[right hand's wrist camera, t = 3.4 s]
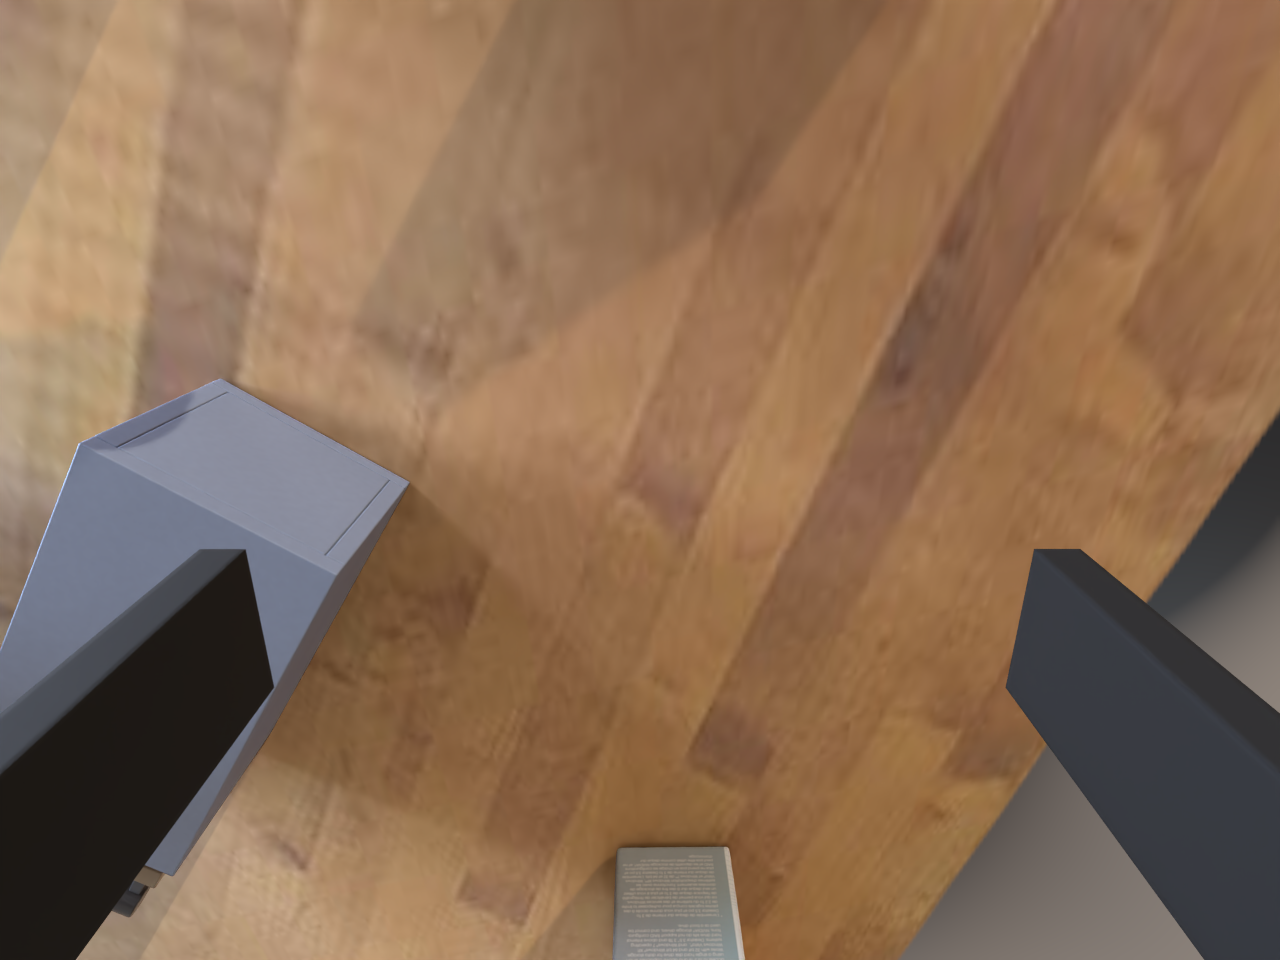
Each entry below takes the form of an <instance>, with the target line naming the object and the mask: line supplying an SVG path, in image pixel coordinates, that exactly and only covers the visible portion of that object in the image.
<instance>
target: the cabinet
mask: <svg viewBox="0 0 1280 960" xmlns="http://www.w3.org/2000/svg"><path fill="white" fill-rule="evenodd" d="M409 483H410V482H408V481H407V480H405V479H403V478H401V477H399V476H397V475H396V474H394V473H392V472H390V471H388V470H387V469H385V468H383V467H381V466H379V465H377V464H376V463H374V462H372V461H370V460H368V459H366V458H365V457H363V456H361V455H359V454H357V453H356V452H354V451H352V450H350V449H348V448H346V447H345V446H343V445H341V444H339V443H337V442H335V441H334V440H332V439H330V438H328V437H326V436H325V435H323V434H321V433H319V432H317V431H315V430H314V429H312V428H310V427H308V426H306V425H304V424H303V423H301V422H299V421H297V420H295V419H294V418H292V417H290V416H288V415H286V414H284V413H283V412H281V411H279V410H277V409H275V408H273V407H272V406H270V405H268V404H266V403H264V402H262V401H261V400H259V399H257V398H255V397H253V396H252V395H250V394H248V393H246V392H244V391H242V390H241V389H239V388H237V387H235V386H233V385H231V384H230V383H228V382H226V381H224V380H222V379H218V380H216V381H214V382H212V383H209V384H207V385H205V386H203V387H201V388H198V389H196V390H194V391H192V392H190V393H187V394H185V395H183V396H181V397H179V398H176V399H174V400H172V401H170V402H168V403H165V404H163V405H161V406H159V407H157V408H155V409H152V410H150V411H148V412H146V413H144V414H141V415H139V416H137V417H135V418H133V419H130V420H128V421H126V422H124V423H122V424H120V425H117V426H115V427H113V428H111V429H109V430H106V431H104V432H102V433H100V434H98V435H96V436H95V437H91V438H89V439H87V440H85V441H83V442H81V443H79V445H78V448H77V450H76V453H75V455H74V458H73V461H72V463H71V466H70V468H69V471H68V474H67V476H66V479H65V482H64V484H63V487H62V489H61V492H60V495H59V497H58V500H57V503H56V505H55V508H54V510H53V513H52V516H51V518H50V521H49V524H48V526H47V529H46V531H45V534H44V537H43V539H42V542H41V544H40V547H39V550H38V552H37V555H36V558H35V560H34V563H33V565H32V568H31V571H30V573H29V576H28V579H27V581H26V584H25V586H24V589H23V592H22V594H21V597H20V599H19V602H18V605H17V607H16V610H15V613H14V615H13V618H12V620H11V623H10V626H9V628H8V631H7V634H6V636H5V639H4V641H3V644H2V647H1V649H0V713H1V712H3V711H4V710H5V709H6V708H8V707H9V706H10V705H11V704H12V703H14V702H15V701H16V700H17V699H18V698H20V697H21V696H22V695H23V694H25V693H26V692H27V691H28V690H29V689H31V688H32V687H33V686H34V685H35V684H37V683H38V682H39V681H40V680H42V679H43V678H44V677H45V676H46V675H48V674H49V673H50V672H51V671H52V670H54V669H55V668H56V667H57V666H59V665H60V664H61V663H62V662H63V661H65V660H66V659H67V658H68V657H69V656H71V655H72V654H73V653H74V652H75V651H77V650H78V649H79V648H80V647H82V646H83V645H84V644H85V643H86V642H88V641H89V640H90V639H91V638H92V637H94V636H95V635H96V634H97V633H99V632H100V631H101V630H102V629H103V628H105V627H106V626H107V625H108V624H109V623H111V622H112V621H113V620H114V619H116V618H117V617H118V616H119V615H120V614H122V613H123V612H124V611H125V610H126V609H128V608H129V607H130V606H131V605H133V604H134V603H135V602H136V601H137V600H139V599H140V598H141V597H142V596H143V595H145V594H146V593H147V592H148V591H149V590H151V589H152V588H153V587H154V586H156V585H157V584H158V583H159V582H160V581H162V580H163V579H164V578H165V577H166V576H168V575H169V574H170V573H171V572H173V571H174V570H175V569H176V568H177V567H179V566H180V565H181V564H182V563H183V562H185V561H186V560H187V559H188V558H190V557H191V556H192V555H193V554H194V553H196V552H197V551H198V550H199V549H246V553H247V558H248V563H249V567H250V572H251V577H252V582H253V587H254V592H255V597H256V601H257V606H258V611H259V616H260V621H261V626H262V630H263V635H264V640H265V645H266V650H267V655H268V659H269V664H270V669H271V674H272V679H273V684H274V689H273V690H272V691H271V693H270V694H269V695H268V697H267V698H266V700H265V701H264V702H263V704H262V705H261V706H260V708H259V709H258V710H257V712H256V713H255V715H254V716H253V717H252V719H251V720H250V721H249V723H248V724H247V726H246V727H245V728H244V730H243V731H242V732H241V734H240V735H239V737H238V738H237V739H236V741H235V742H234V743H233V745H232V746H231V748H230V749H229V750H228V752H227V753H226V754H225V756H224V757H223V758H222V760H221V761H220V763H219V764H218V765H217V767H216V768H215V769H214V771H213V772H212V774H211V775H210V776H209V778H208V779H207V780H206V782H205V783H204V785H203V786H202V787H201V789H200V790H199V791H198V793H197V794H196V795H195V797H194V798H193V800H192V801H191V802H190V804H189V805H188V806H187V808H186V809H185V811H184V812H183V813H182V815H181V816H180V817H179V819H178V820H177V822H176V823H175V824H174V826H173V827H172V828H171V830H170V831H169V832H168V834H167V835H166V837H165V838H164V839H163V841H162V842H161V843H160V845H159V846H158V848H157V849H156V850H155V852H154V853H153V854H152V856H151V857H150V859H149V860H148V861H147V863H146V864H145V865H146V866H148V867H151V868H153V869H156V870H158V871H160V872H163V873H165V874H168V875H170V876H174V875H175V873H176V872H177V870H178V869H179V867H180V866H181V864H182V863H183V861H184V860H185V858H186V857H187V855H188V854H189V852H190V851H191V850H192V848H193V847H194V845H195V844H196V842H197V841H198V839H199V838H200V836H201V835H202V833H203V832H204V830H205V829H206V827H207V826H208V824H209V823H210V822H211V820H212V819H213V817H214V816H215V814H216V813H217V811H218V810H219V808H220V807H221V805H222V804H223V802H224V801H225V799H226V798H227V796H228V795H229V793H230V792H231V791H232V789H233V788H234V786H235V785H236V783H237V782H238V780H239V779H240V777H241V776H242V774H243V773H244V771H245V770H246V768H247V767H248V765H249V764H250V762H251V761H252V760H253V758H254V757H255V755H256V754H257V752H258V751H259V749H260V748H261V746H262V745H263V743H264V742H265V740H266V739H267V737H268V736H269V734H270V733H271V731H272V729H273V728H274V726H275V724H276V722H277V720H278V719H279V717H280V715H281V713H282V711H283V710H284V708H285V706H286V704H287V703H288V701H289V699H290V697H291V695H292V694H293V692H294V690H295V688H296V686H297V685H298V683H299V681H300V679H301V677H302V676H303V674H304V672H305V670H306V668H307V667H308V665H309V663H310V661H311V659H312V658H313V656H314V654H315V652H316V650H317V649H318V647H319V645H320V643H321V641H322V640H323V638H324V636H325V634H326V632H327V631H328V629H329V627H330V625H331V624H332V622H333V620H334V618H335V616H336V615H337V613H338V611H339V609H340V607H341V606H342V604H343V602H344V600H345V598H346V597H347V595H348V593H349V591H350V589H351V588H352V586H353V584H354V582H355V580H356V579H357V577H358V575H359V573H360V571H361V570H362V568H363V566H364V564H365V562H366V561H367V559H368V557H369V555H370V554H371V552H372V550H373V548H374V546H375V545H376V543H377V541H378V539H379V537H380V536H381V534H382V532H383V530H384V528H385V527H386V525H387V523H388V521H389V519H390V518H391V516H392V514H393V512H394V510H395V509H396V507H397V505H398V503H399V501H400V500H401V498H402V496H403V494H404V492H405V491H406V489H407V487H408V485H409Z"/></svg>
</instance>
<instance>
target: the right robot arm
mask: <svg viewBox="0 0 1280 960" xmlns="http://www.w3.org/2000/svg"><path fill="white" fill-rule="evenodd" d="M273 689H274V684H273V679H272V674H271V669H270V664H269V659H268V655H267V650H266V645H265V640H264V635H263V630H262V626H261V621H260V616H259V611H258V606H257V601H256V597H255V592H254V587H253V582H252V577H251V572H250V567H249V563H248V558H247V553H246V549H199V550H198V551H197V552H196V553H194V554H193V555H192V556H191V557H190V558H188V559H187V560H186V561H185V562H183V563H182V564H181V565H180V566H179V567H177V568H176V569H175V570H174V571H173V572H171V573H170V574H169V575H168V576H166V577H165V578H164V579H163V580H162V581H160V582H159V583H158V584H157V585H156V586H154V587H153V588H152V589H151V590H149V591H148V592H147V593H146V594H145V595H143V596H142V597H141V598H140V599H139V600H137V601H136V602H135V603H134V604H133V605H131V606H130V607H129V608H128V609H126V610H125V611H124V612H123V613H122V614H120V615H119V616H118V617H117V618H116V619H114V620H113V621H112V622H111V623H109V624H108V625H107V626H106V627H105V628H103V629H102V630H101V631H100V632H99V633H97V634H96V635H95V636H94V637H92V638H91V639H90V640H89V641H88V642H86V643H85V644H84V645H83V646H82V647H80V648H79V649H78V650H77V651H75V652H74V653H73V654H72V655H71V656H69V657H68V658H67V659H66V660H65V661H63V662H62V663H61V664H60V665H59V666H57V667H56V668H55V669H54V670H52V671H51V672H50V673H49V674H48V675H46V676H45V677H44V678H43V679H42V680H40V681H39V682H38V683H37V684H35V685H34V686H33V687H32V688H31V689H29V690H28V691H27V692H26V693H25V694H23V695H22V696H21V697H20V698H18V699H17V700H16V701H15V702H14V703H12V704H11V705H10V706H9V707H8V708H6V709H5V710H4V711H3V712H1V713H0V960H76V959H77V957H78V956H79V954H80V953H81V952H82V950H83V949H84V948H85V946H86V945H87V944H88V942H89V941H90V939H91V938H92V937H93V935H94V934H95V933H96V931H97V930H98V928H99V927H100V926H101V924H102V923H103V922H104V920H105V919H106V917H107V916H108V915H109V913H110V912H111V911H112V909H113V908H114V907H115V905H116V904H117V902H118V901H119V900H120V898H121V897H122V896H123V894H124V893H125V891H126V890H127V889H128V887H129V886H130V885H131V883H132V882H133V880H134V879H135V878H136V876H137V875H138V874H139V872H140V871H141V870H142V868H143V867H144V865H145V864H146V863H147V861H148V860H149V859H150V857H151V856H152V854H153V853H154V852H155V850H156V849H157V848H158V846H159V845H160V843H161V842H162V841H163V839H164V838H165V837H166V835H167V834H168V832H169V831H170V830H171V828H172V827H173V826H174V824H175V823H176V822H177V820H178V819H179V817H180V816H181V815H182V813H183V812H184V811H185V809H186V808H187V806H188V805H189V804H190V802H191V801H192V800H193V798H194V797H195V795H196V794H197V793H198V791H199V790H200V789H201V787H202V786H203V785H204V783H205V782H206V780H207V779H208V778H209V776H210V775H211V774H212V772H213V771H214V769H215V768H216V767H217V765H218V764H219V763H220V761H221V760H222V758H223V757H224V756H225V754H226V753H227V752H228V750H229V749H230V748H231V746H232V745H233V743H234V742H235V741H236V739H237V738H238V737H239V735H240V734H241V732H242V731H243V730H244V728H245V727H246V726H247V724H248V723H249V721H250V720H251V719H252V717H253V716H254V715H255V713H256V712H257V710H258V709H259V708H260V706H261V705H262V704H263V702H264V701H265V700H266V698H267V697H268V695H269V694H270V693H271V691H272V690H273ZM1006 689H1007V690H1008V691H1009V693H1010V694H1011V695H1012V697H1013V698H1014V700H1015V701H1016V702H1017V704H1018V705H1019V706H1020V708H1021V709H1022V710H1023V712H1024V713H1025V715H1026V716H1027V717H1028V719H1029V720H1030V721H1031V723H1032V724H1033V726H1034V727H1035V728H1036V730H1037V731H1038V732H1039V734H1040V735H1041V737H1042V738H1043V739H1044V741H1045V742H1046V743H1047V745H1048V746H1049V748H1050V749H1051V750H1052V752H1053V753H1054V754H1055V756H1056V757H1057V758H1058V760H1059V761H1060V763H1061V764H1062V765H1063V767H1064V768H1065V769H1066V771H1067V772H1068V773H1069V775H1070V776H1071V778H1072V779H1073V780H1074V782H1075V783H1076V784H1077V786H1078V787H1079V788H1080V790H1081V791H1082V793H1083V794H1084V795H1085V797H1086V798H1087V800H1088V801H1089V802H1090V804H1091V805H1092V806H1093V808H1094V809H1095V810H1096V812H1097V813H1098V815H1099V816H1100V817H1101V819H1102V820H1103V822H1104V823H1105V824H1106V826H1107V827H1108V828H1109V830H1110V831H1111V832H1112V834H1113V835H1114V837H1115V838H1116V839H1117V841H1118V842H1119V843H1120V845H1121V846H1122V848H1123V849H1124V850H1125V852H1126V853H1127V854H1128V856H1129V857H1130V859H1131V860H1132V861H1133V863H1134V864H1135V865H1136V867H1137V868H1138V870H1139V871H1140V872H1141V874H1142V875H1143V876H1144V878H1145V879H1146V880H1147V882H1148V883H1149V885H1150V886H1151V887H1152V889H1153V890H1154V891H1155V893H1156V894H1157V895H1158V897H1159V898H1160V900H1161V901H1162V902H1163V904H1164V905H1165V907H1166V908H1167V909H1168V911H1169V912H1170V913H1171V915H1172V916H1173V917H1174V919H1175V920H1176V922H1177V923H1178V924H1179V926H1180V927H1181V928H1182V930H1183V931H1184V933H1185V934H1186V935H1187V937H1188V938H1189V939H1190V941H1191V942H1192V944H1193V945H1194V946H1195V948H1196V949H1197V950H1198V952H1199V953H1200V954H1201V956H1202V957H1203V959H1204V960H1280V713H1279V712H1277V711H1276V710H1275V709H1274V708H1272V707H1271V706H1270V705H1269V704H1268V703H1266V702H1265V701H1264V700H1263V699H1261V698H1260V697H1259V696H1258V695H1257V694H1255V693H1254V692H1253V691H1252V690H1251V689H1249V688H1248V687H1247V686H1246V685H1245V684H1243V683H1242V682H1241V681H1240V680H1238V679H1237V678H1236V677H1235V676H1234V675H1232V674H1231V673H1230V672H1229V671H1228V670H1226V669H1225V668H1224V667H1223V666H1221V665H1220V664H1219V663H1218V662H1217V661H1215V660H1214V659H1213V658H1212V657H1211V656H1209V655H1208V654H1207V653H1206V652H1204V651H1203V650H1202V649H1201V648H1200V647H1198V646H1197V645H1196V644H1195V643H1194V642H1192V641H1191V640H1190V639H1189V638H1188V637H1186V636H1185V635H1184V634H1183V633H1181V632H1180V631H1179V630H1178V629H1177V628H1175V627H1174V626H1173V625H1172V624H1170V623H1169V622H1168V621H1167V620H1166V619H1164V618H1163V617H1162V616H1161V615H1160V614H1158V613H1157V612H1156V611H1155V610H1154V609H1152V608H1151V607H1150V606H1149V605H1147V604H1146V603H1145V602H1144V601H1143V600H1141V599H1140V598H1139V597H1138V596H1137V595H1135V594H1134V593H1133V592H1132V591H1131V590H1129V589H1128V588H1127V587H1126V586H1124V585H1123V584H1122V583H1121V582H1120V581H1118V580H1117V579H1116V578H1115V577H1114V576H1112V575H1111V574H1110V573H1109V572H1107V571H1106V570H1105V569H1104V568H1103V567H1101V566H1100V565H1099V564H1098V563H1097V562H1095V561H1094V560H1093V559H1092V558H1090V557H1089V556H1088V555H1087V554H1086V553H1084V552H1083V551H1082V550H1081V549H1034V553H1033V558H1032V563H1031V567H1030V572H1029V577H1028V582H1027V587H1026V592H1025V596H1024V601H1023V606H1022V611H1021V616H1020V621H1019V626H1018V630H1017V635H1016V640H1015V645H1014V650H1013V655H1012V659H1011V664H1010V669H1009V674H1008V679H1007V684H1006Z"/></svg>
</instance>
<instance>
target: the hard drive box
mask: <svg viewBox="0 0 1280 960" xmlns="http://www.w3.org/2000/svg"><path fill="white" fill-rule="evenodd" d="M613 960H745V956H744V949H743V941H742V934H741V927H740V919H739V912H738V905H737V898H736V892H735V885H734V879H733V872H732V865H731V858H730V852H729V848H728V847H645V848H619V849H618V850H617V856H616V872H615V898H614V933H613Z"/></svg>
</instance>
